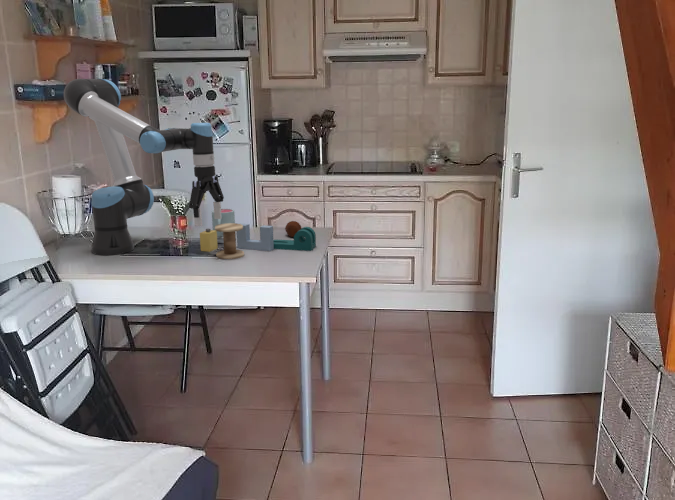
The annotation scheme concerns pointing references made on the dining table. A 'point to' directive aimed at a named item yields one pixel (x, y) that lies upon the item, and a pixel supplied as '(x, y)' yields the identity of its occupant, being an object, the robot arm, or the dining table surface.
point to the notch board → (262, 244)
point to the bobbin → (229, 241)
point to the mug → (223, 219)
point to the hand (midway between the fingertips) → (208, 222)
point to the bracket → (298, 241)
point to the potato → (292, 228)
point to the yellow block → (208, 240)
